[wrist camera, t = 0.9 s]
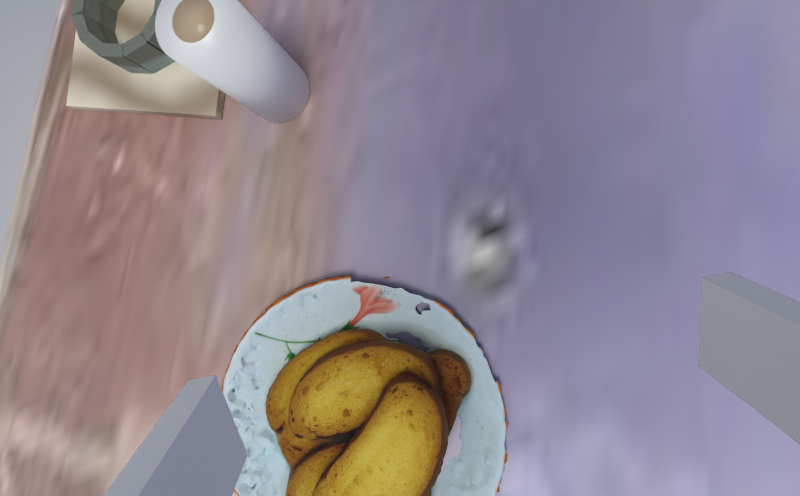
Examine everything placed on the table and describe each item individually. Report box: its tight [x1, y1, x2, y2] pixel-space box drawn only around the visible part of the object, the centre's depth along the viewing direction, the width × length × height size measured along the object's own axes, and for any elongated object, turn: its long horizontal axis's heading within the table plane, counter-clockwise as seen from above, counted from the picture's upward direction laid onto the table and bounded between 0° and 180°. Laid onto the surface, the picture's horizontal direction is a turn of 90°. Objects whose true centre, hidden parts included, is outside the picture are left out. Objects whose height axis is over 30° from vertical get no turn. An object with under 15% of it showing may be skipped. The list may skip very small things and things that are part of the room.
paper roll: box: [155, 0, 310, 123], centre depth 33 cm, size 6×6×12 cm
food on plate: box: [222, 276, 509, 496], centre depth 33 cm, size 25×25×7 cm
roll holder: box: [66, 0, 225, 119], centre depth 40 cm, size 18×18×4 cm
